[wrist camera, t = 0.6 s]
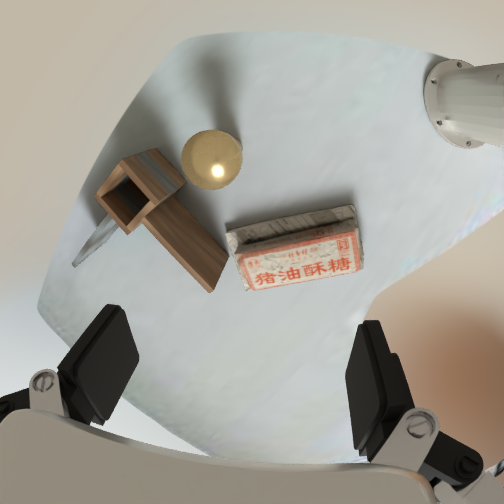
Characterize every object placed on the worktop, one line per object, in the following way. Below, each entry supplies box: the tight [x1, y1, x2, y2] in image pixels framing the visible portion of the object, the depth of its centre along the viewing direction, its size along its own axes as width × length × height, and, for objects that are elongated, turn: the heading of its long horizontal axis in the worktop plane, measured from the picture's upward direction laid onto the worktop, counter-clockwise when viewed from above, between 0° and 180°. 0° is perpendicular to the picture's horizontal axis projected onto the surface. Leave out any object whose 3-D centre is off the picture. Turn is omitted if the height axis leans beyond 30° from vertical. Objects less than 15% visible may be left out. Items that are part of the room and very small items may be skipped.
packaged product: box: [225, 205, 364, 291], centre depth 39 cm, size 18×5×10 cm
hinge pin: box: [181, 130, 243, 190], centre depth 32 cm, size 6×6×10 cm
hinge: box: [72, 148, 229, 293], centre depth 39 cm, size 19×19×9 cm
